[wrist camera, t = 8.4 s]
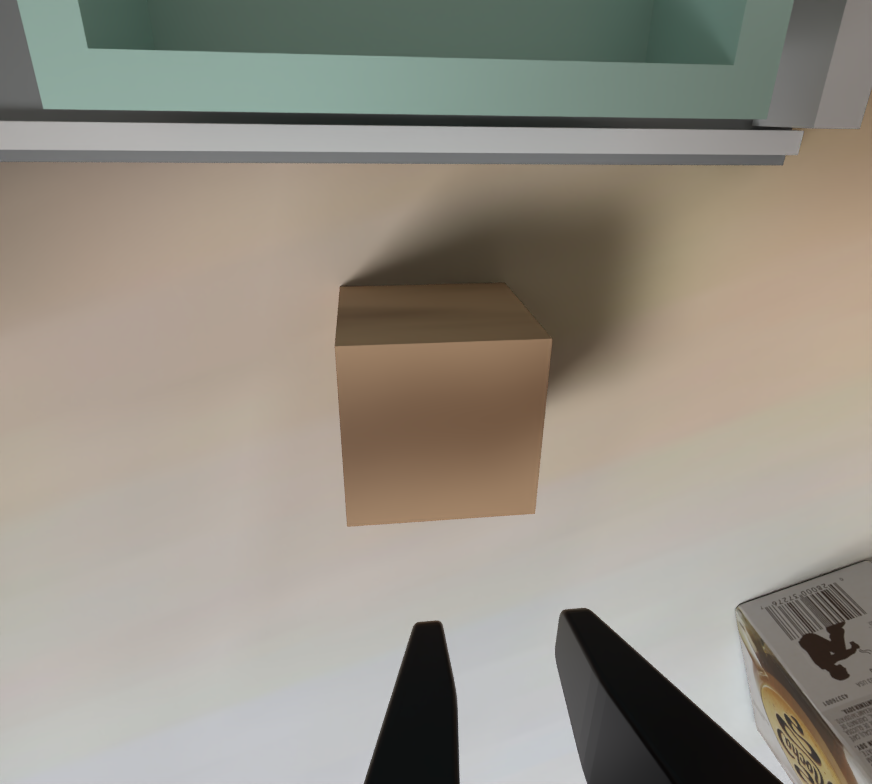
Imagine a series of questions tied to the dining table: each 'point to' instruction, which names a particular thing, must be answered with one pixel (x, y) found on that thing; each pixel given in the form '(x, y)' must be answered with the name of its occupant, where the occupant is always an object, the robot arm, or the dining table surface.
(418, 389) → the block
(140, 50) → the sage green storage bin
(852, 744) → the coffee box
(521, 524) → the dining table surface
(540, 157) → the rail board
